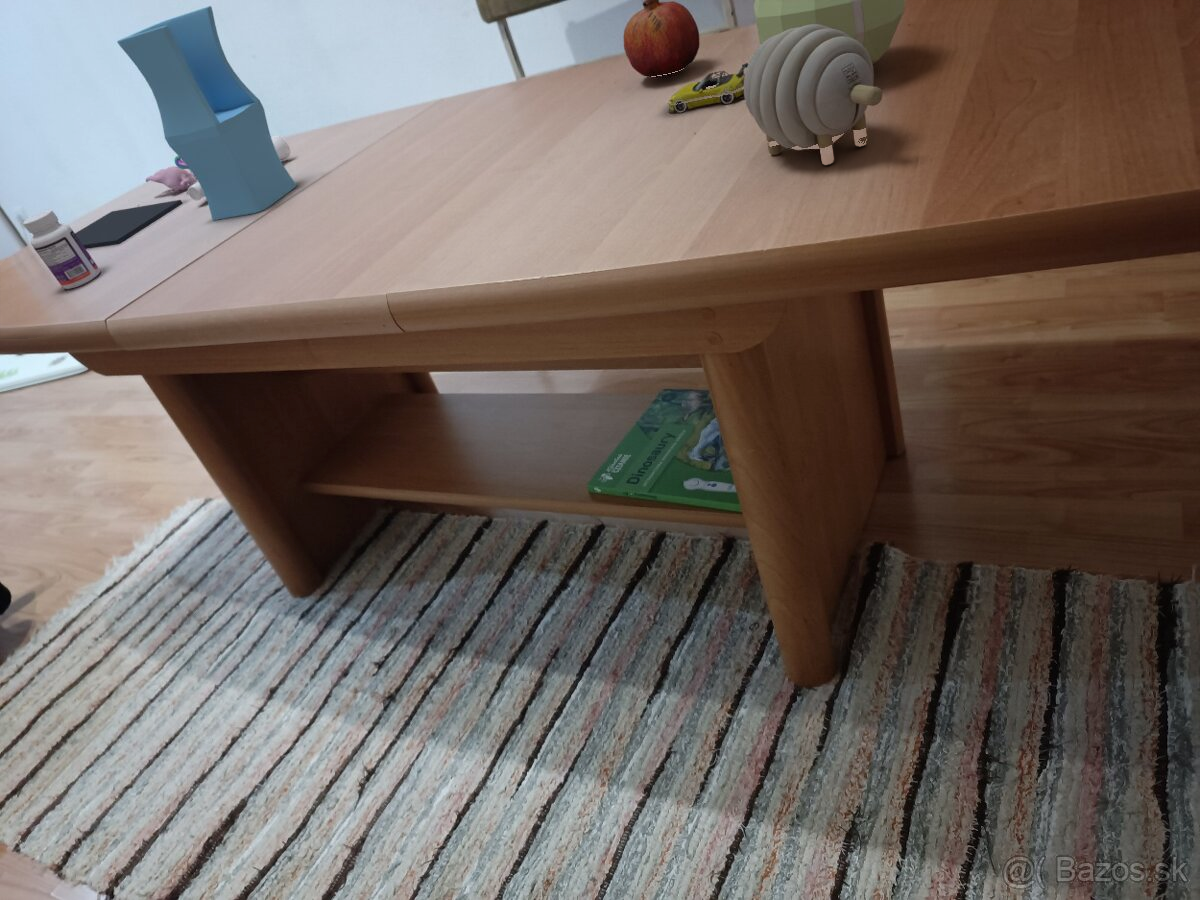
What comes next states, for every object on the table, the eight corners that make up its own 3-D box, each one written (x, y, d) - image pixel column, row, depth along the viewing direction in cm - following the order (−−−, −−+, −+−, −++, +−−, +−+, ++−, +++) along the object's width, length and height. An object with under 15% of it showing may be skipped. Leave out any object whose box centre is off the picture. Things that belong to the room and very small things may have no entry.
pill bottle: (78, 275, 125) (34, 212, 119) (108, 267, 123) (65, 203, 118) (55, 293, 121) (8, 229, 115) (86, 285, 119) (40, 220, 113)
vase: (261, 212, 123) (161, 27, 109) (212, 220, 127) (109, 43, 113) (301, 182, 130) (211, 5, 116) (253, 191, 134) (161, 21, 120)
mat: (49, 253, 141) (47, 250, 141) (113, 214, 151) (111, 211, 150) (119, 243, 133) (116, 240, 132) (182, 203, 142) (180, 199, 142)
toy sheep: (795, 122, 90) (778, 8, 84) (932, 136, 77) (924, 3, 71) (720, 164, 87) (696, 49, 80) (849, 186, 74) (833, 52, 67)
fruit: (709, 74, 113) (692, -8, 107) (635, 97, 115) (615, 17, 109) (700, 55, 122) (684, -22, 116) (632, 77, 123) (612, 2, 117)
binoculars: (296, 157, 145) (282, 130, 142) (240, 198, 133) (224, 169, 131) (248, 168, 149) (234, 141, 146) (190, 208, 137) (174, 180, 135)
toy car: (675, 101, 108) (670, 76, 106) (754, 85, 104) (750, 60, 102) (664, 116, 104) (658, 91, 103) (746, 100, 100) (741, 74, 98)
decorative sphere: (879, 98, 88) (864, -66, 80) (747, 111, 97) (720, -35, 88) (925, 46, 97) (915, -106, 89) (799, 63, 106) (779, -75, 97)
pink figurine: (232, 182, 150) (165, 181, 155) (217, 148, 146) (150, 148, 151) (208, 198, 145) (141, 196, 150) (193, 164, 142) (124, 163, 147)
